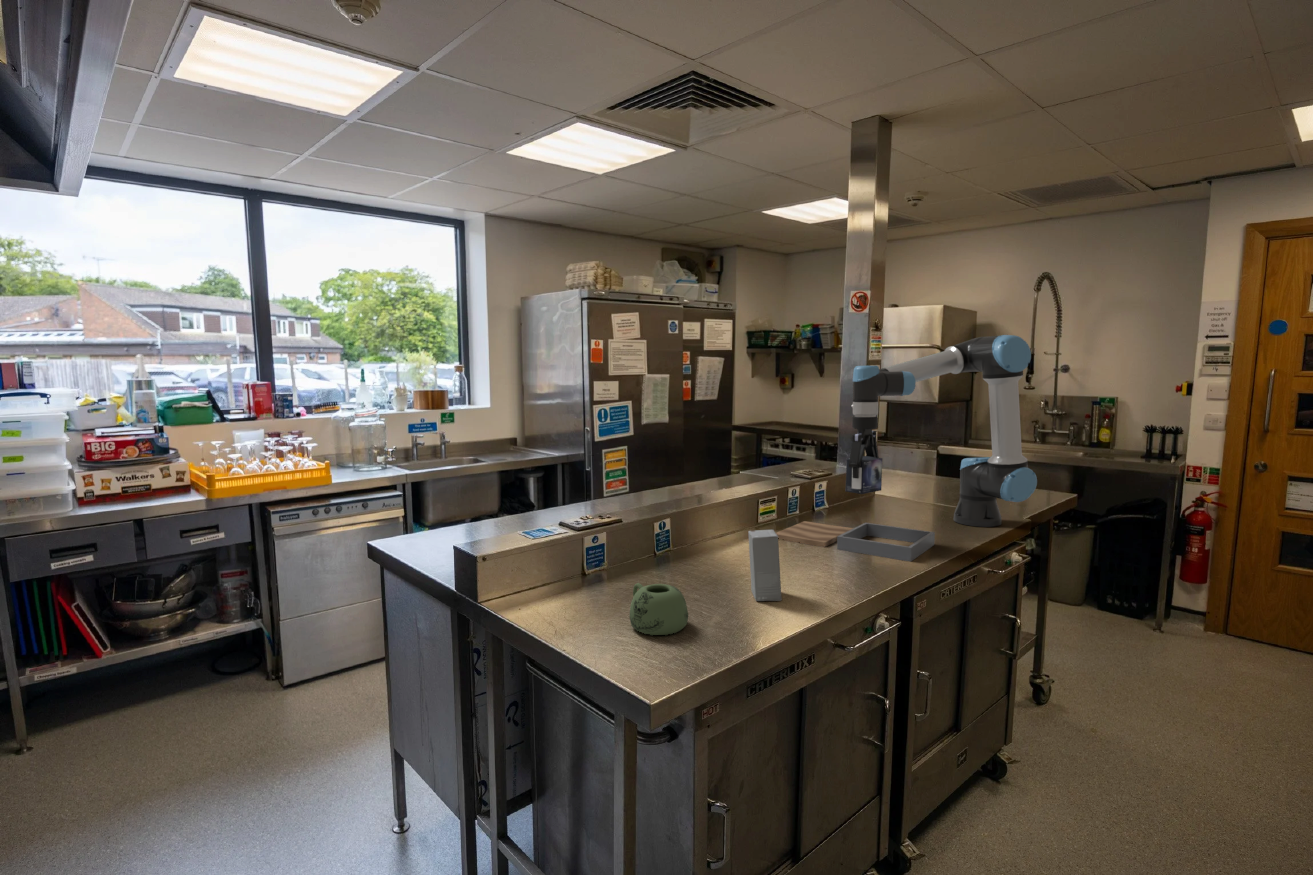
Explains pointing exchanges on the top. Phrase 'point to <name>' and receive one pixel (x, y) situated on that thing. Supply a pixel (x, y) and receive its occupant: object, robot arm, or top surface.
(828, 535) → the walnut board
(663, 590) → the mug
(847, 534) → the bin
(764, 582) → the skincare box
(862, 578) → the top surface
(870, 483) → the small box
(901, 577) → the top surface
